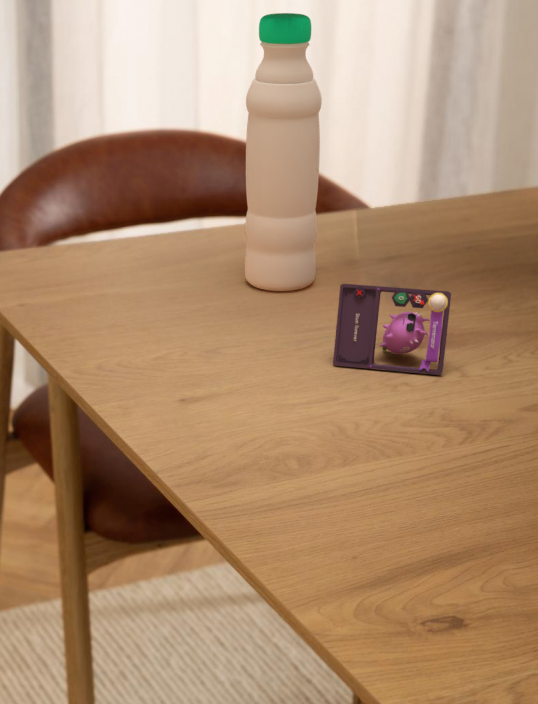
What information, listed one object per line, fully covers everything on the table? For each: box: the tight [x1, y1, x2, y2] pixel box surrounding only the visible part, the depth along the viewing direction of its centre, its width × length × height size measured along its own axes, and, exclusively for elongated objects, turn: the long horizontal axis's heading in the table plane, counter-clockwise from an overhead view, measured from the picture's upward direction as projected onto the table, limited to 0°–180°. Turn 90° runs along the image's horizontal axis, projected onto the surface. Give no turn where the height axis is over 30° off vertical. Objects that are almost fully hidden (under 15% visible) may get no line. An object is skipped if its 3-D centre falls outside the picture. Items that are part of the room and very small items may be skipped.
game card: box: [332, 283, 452, 376], centre depth 99 cm, size 7×5×9 cm
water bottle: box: [244, 12, 323, 292], centre depth 113 cm, size 7×7×25 cm
